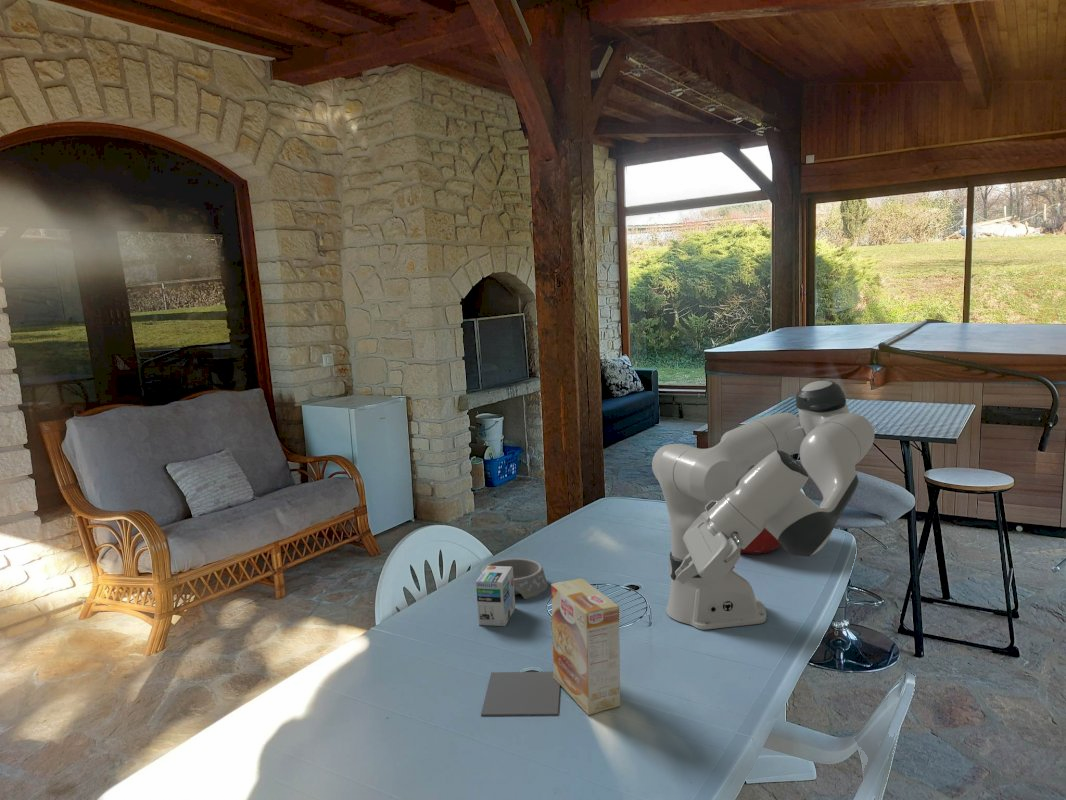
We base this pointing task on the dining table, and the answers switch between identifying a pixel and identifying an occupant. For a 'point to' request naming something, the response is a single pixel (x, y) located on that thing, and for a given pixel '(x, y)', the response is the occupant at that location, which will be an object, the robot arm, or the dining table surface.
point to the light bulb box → (495, 595)
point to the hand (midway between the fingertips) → (678, 578)
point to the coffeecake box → (586, 645)
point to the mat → (521, 694)
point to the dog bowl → (525, 576)
